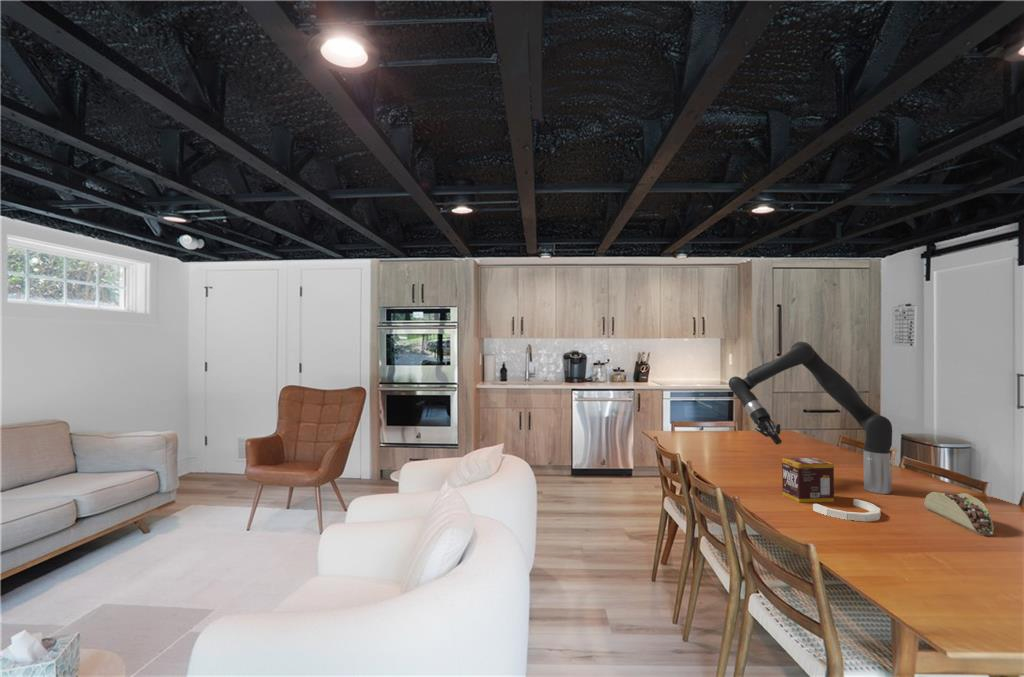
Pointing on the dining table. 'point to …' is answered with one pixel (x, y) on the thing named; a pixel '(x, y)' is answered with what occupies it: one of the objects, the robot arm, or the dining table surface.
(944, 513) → the taco
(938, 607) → the dining table surface
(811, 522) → the dining table surface
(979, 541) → the dining table surface
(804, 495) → the supplement box
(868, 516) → the segmented curved arch
